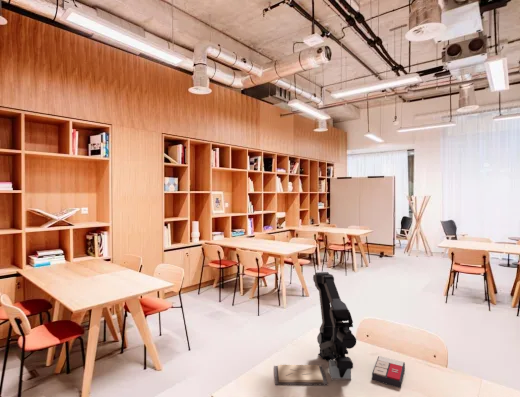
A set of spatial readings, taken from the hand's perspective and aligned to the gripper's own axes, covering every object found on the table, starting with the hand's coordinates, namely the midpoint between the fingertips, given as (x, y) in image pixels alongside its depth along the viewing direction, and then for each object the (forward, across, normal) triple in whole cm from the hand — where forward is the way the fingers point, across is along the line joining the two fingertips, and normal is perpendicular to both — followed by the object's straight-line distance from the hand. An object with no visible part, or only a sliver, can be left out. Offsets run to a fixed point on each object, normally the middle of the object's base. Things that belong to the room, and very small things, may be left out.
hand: (339, 373), depth 133 cm
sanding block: (+1, 0, 0) cm, 1 cm away
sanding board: (+1, 0, -17) cm, 17 cm away
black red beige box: (+2, -1, +21) cm, 21 cm away
